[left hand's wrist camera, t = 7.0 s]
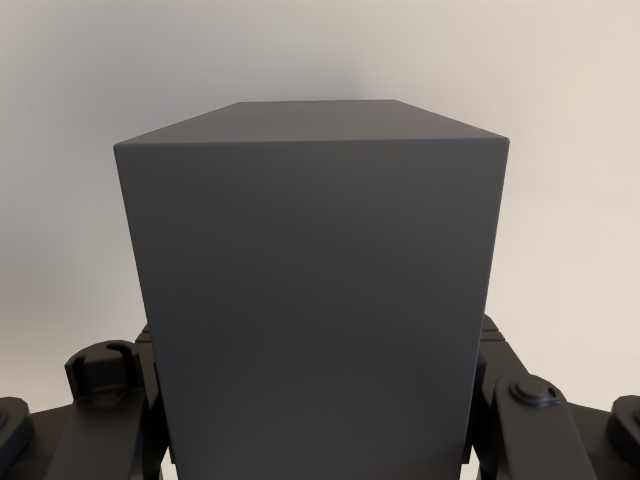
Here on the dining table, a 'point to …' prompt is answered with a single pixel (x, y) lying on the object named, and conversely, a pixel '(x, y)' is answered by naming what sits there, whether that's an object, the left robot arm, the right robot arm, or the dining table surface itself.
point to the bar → (315, 285)
